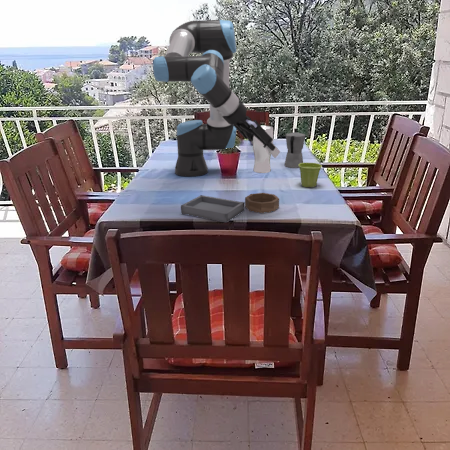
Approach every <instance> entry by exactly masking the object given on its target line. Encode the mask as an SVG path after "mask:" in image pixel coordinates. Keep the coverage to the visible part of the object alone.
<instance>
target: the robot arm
mask: <svg viewBox="0 0 450 450" xmlns="http://www.w3.org/2000/svg"><path fill="white" fill-rule="evenodd" d="M235 33H236V32H235V27H234V24H233V22H232V21H231V20H229V19H228V20H226V19H225V20H224V19H207V20H204V19H203V20H190V21H187V22H184V23H182V24H180V25H179V26H178V27H176V28H175V29H174V30H173V31H172V32H171V34H170V36H169V40H168V42H169V45H168V48H167V50H166V53H165V55H164V56H163V55H161V56H155V57H154V58H153V63H152V67H153V68H152V70H153V77H154V79H155V80H156V81H157V82H165V83H173V82H174V83H175V82H177V83H178V82H180V83H181V82H191V83H190V84H191V85H192V86H193V87H194V89H195V90H196V91H197V92H198V93H199V94H200V95H201V96H202V97H203V98H204V99H205V100H206V101H207V102H208V103H209V117H208V119H207V120H206V123H204V122H203V120H202V119H194V120H188V121H187V120H186V121H183V122H180V123H179V124H178V125H177V126H176V133H175V134H176V142H177V143H176V144H177V160H176V163H175V166H174V174H175V175H176V176H180V177H193V178H194V177H200V176H203V175H206V174H208V173H209V172H208V170H209V169H208V168H209V167H208V165H207V161H206V159H205V156H204V151H223V150H222V149H226V148H233V147H234V148H235V144H236V137H237V132H238V133H239V134H240V135H241V136H242V137H243V138H244V139H245V140H248V141H249V142H251V144H252V145H253V135H254V136H255V137H256V138H257V139H258V140H259V141H260V142H262V143H263V144H264V146H263V147H264V148H266V149H267V150H268V151H269V152H270V153H271V157H273V158H274V159H277V157H278V156H279V155H280V154H281V151H280V150H279V149H278V148H277V147H276V145H275V144H274V138H273V139H272V138H271V137H270V136H269V135H268V134H267V132H266V131H265V130H264V129H263V128H262V127H261V126H262V125H260V124H259V122H258V121H257V120H256V119H254V120H252V118H251V117H250V116H249V115H247V106H246V105H244V103H243V102H242V101H241V100H240V99H239V97H238V96H237V95H236V93H235V92H233V90H232V89H231V88H230V61H231V60H232V59H233V58H234V54H235V53H236V52H237V43H236V35H235ZM190 54H202V55H194V56H193V55H192V56H191V55H190ZM272 141H273V143H272Z"/></svg>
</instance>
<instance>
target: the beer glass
mask: <svg viewBox="0 0 450 450" xmlns="http://www.w3.org/2000/svg"><path fill="white" fill-rule="evenodd" d="M260 126H261V127H262V128H263V129H264V130H265V131H266V132H267V134H268V135H269V136H270V137H271V138H272V139H273V141H272V143H273V144H274V127H273V126H270V125H260ZM263 146H264V144H263V143H262V142H260V141H259V140H258V139H257V138H256V137H255V136H254V135H253V144H252V151H253V157H254V164H253V170H252V171H253V172H254V173H257V174H267V173H270V172H271V170H272V168H271V157H272V155H271V153H270V152H269V151H268V150H267V149H266V148H264V147H263Z"/></svg>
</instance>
